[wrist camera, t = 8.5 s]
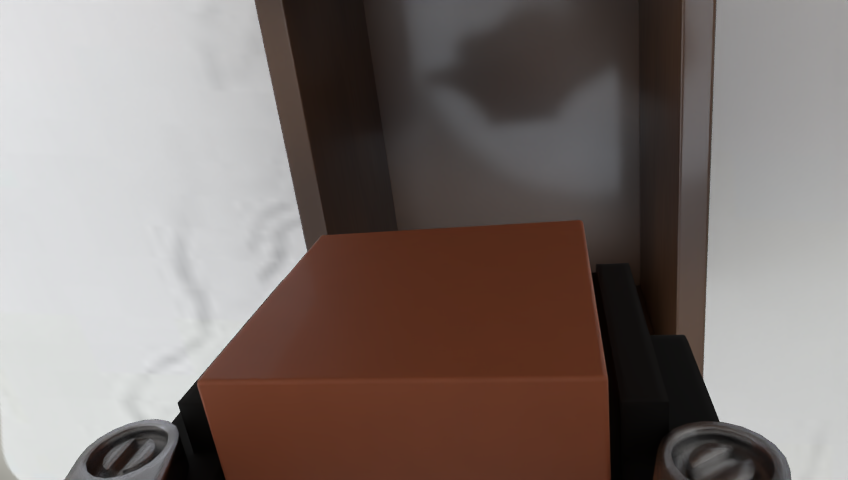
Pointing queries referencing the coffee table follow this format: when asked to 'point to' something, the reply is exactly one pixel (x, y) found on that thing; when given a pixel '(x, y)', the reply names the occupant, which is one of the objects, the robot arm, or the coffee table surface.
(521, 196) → the chest
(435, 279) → the block
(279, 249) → the coffee table surface
